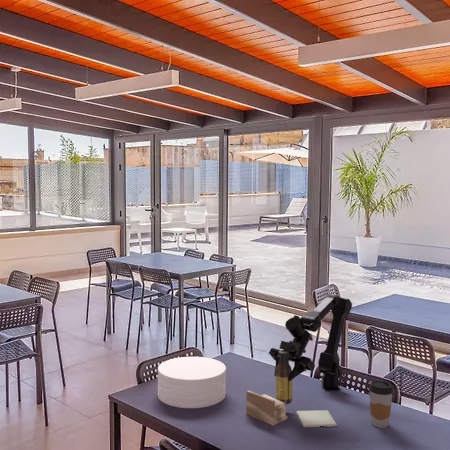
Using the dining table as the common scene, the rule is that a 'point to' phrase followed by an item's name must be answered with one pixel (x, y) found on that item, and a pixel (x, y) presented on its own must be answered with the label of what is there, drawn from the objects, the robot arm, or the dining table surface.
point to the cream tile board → (316, 418)
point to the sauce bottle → (283, 378)
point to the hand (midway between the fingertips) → (281, 378)
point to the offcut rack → (265, 408)
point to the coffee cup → (380, 403)
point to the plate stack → (191, 382)
